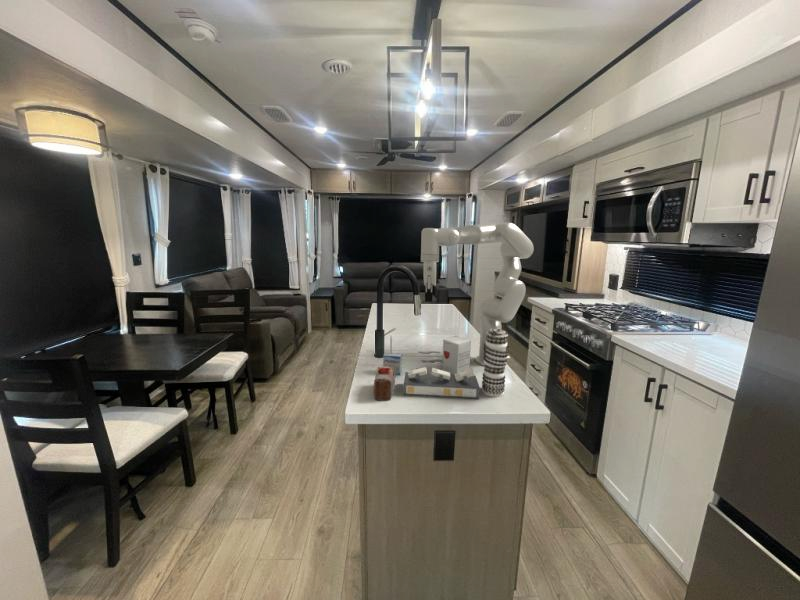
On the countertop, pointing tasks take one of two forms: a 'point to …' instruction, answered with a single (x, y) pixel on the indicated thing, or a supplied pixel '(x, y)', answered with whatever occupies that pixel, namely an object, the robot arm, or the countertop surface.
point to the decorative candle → (494, 362)
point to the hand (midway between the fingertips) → (428, 301)
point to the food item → (384, 383)
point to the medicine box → (393, 362)
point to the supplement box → (456, 354)
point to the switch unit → (441, 386)
